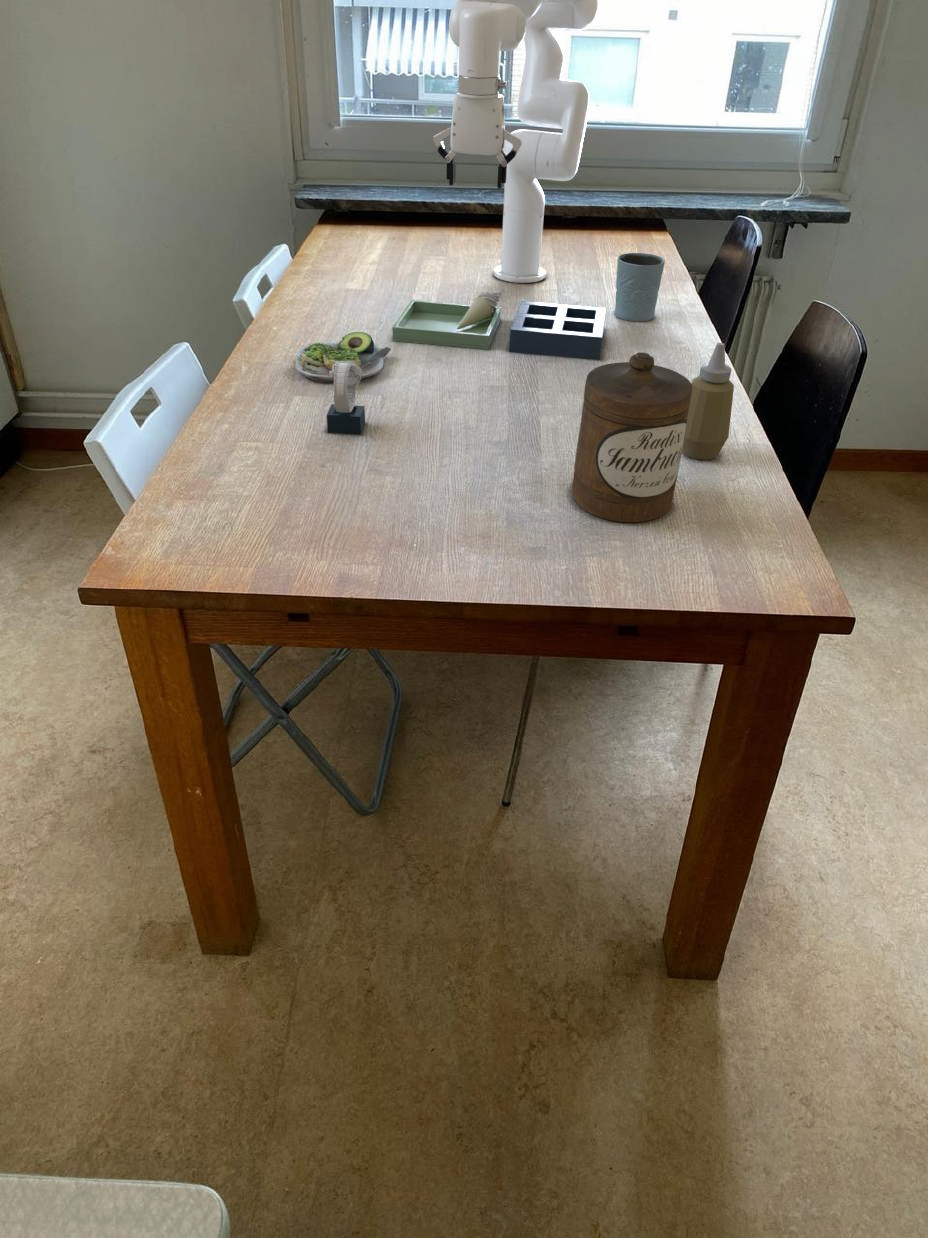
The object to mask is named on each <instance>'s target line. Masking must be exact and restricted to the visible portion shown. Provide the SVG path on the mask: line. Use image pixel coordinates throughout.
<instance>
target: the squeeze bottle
mask: <svg viewBox="0 0 928 1238" xmlns="http://www.w3.org/2000/svg"><path fill="white" fill-rule="evenodd" d="M731 374H732V368H731V367H730V366H729V365H728V364H726V344H725V343H724V342H717V343H716V345H715V347H714V349H713V352H712V354H711V356H710V359H709V360H708V362H707V361H706V362H703V363H702V364H701V365H700V369H699V375H697V376H696V377H694V378H693V379H692V380H691V381H690V382H691V384H692V396H691V401H690V406H689V410H688V418H687V424H686V430H685V435H684V441H683V448H682V454H683V455H685V456H687V457H688V458H692V459H695V460H702V461H703V460H712V459H715V458H716V457H717V456H718V455H719V453H720V452H721V450H722V449H723V447H724V445H725V444H726V442H727V441H728V439H729V436H730V428H731V427H730V426H731V418H732V410H733V409H732V408H733V401H734V400H733V398H734V389H735V384H734V383H733V382H732V381H731V380H730V379H731Z"/></svg>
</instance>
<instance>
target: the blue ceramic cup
mask: <svg viewBox="0 0 928 1238" xmlns="http://www.w3.org/2000/svg"><path fill="white" fill-rule="evenodd" d="M665 262H666V261H665V259H664V258H663V257H662V256H659V255H656V254H651V253H644V252H628V253H622V254H619V255H618V256H617V259H616V279H615V289H616V290H615V306H614V315H615V316H616V317H617V318H618V319H621V320H624V321H629V322H637V323H638V322H648V321H651V320H652V319H654V316H655V312H656V308H657V307H656V305H657V301H658V298H659V291H660V286H661V282H662V278H663V273H664V268H665Z"/></svg>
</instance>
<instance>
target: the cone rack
mask: <svg viewBox="0 0 928 1238" xmlns="http://www.w3.org/2000/svg"><path fill="white" fill-rule="evenodd" d="M606 314H607V307H597V306H586V305H575V304H562V303H551V302H540V301H539V302H538V301H528V300H527V301H526V300H520V303H519V306H518V309H517V311H516V313H515V317H514V319H513V322H512V324H511V327H510V329H509V330H510V332H509V343H508V344H509V347H508V352H510V353H517V354H528V355H529V354H530V355H540V356H541V355H542V356H553V357H561V358H563V357H564V358H572V359H573V358H574V359H585V360H596V361H600V359H601V353H602V345H603V339H604V331H605V324H606Z"/></svg>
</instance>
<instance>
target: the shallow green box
mask: <svg viewBox="0 0 928 1238" xmlns="http://www.w3.org/2000/svg"><path fill="white" fill-rule="evenodd" d="M471 305H472V304H463V303H461V304H460V303H450V302H449V303H448V302H440V301H439V302H437V301H429V300H428V301H427V300H417V299H416V300H415V299H410V301H409V303H408V304H407V306H406V307H405V308H404V310H403V311H402V313H401V314H400V316H399V317H398V318H397V320H396V321H395V323H394V325H393V326H392V341H393V342H400V343H401V342H402V343H411V344H424V345H435V346H444V347H454V348H455V347H457V348H467V349H477V350H478V349H480V350H489V349H490V346H491V344H492V341H493V339H494V336H495V334H496V331H497V329H498V327H499V324H500V322H501V315H502V307H500V306H499V307H497V306H496V308H497V309H496V310H495V309H494V310H493V312H494V314H492V316H491V318H489V319H485V320H482V321H480V322H477V323H474V324H472V325H469V326H466V327H464V328H461V329H457V327H458V325H459V323H460V322H461V320H462V319H463V317H464V316H465V314H466V313H467V311H468V310H469V308H470V306H471Z"/></svg>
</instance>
